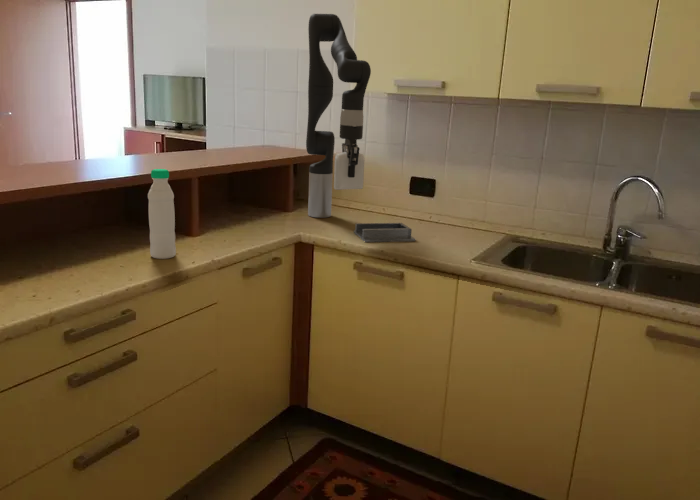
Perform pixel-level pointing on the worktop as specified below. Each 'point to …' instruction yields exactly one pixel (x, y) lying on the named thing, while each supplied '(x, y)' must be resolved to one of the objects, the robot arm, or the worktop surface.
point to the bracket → (383, 232)
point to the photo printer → (342, 173)
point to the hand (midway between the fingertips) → (349, 175)
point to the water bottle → (161, 216)
